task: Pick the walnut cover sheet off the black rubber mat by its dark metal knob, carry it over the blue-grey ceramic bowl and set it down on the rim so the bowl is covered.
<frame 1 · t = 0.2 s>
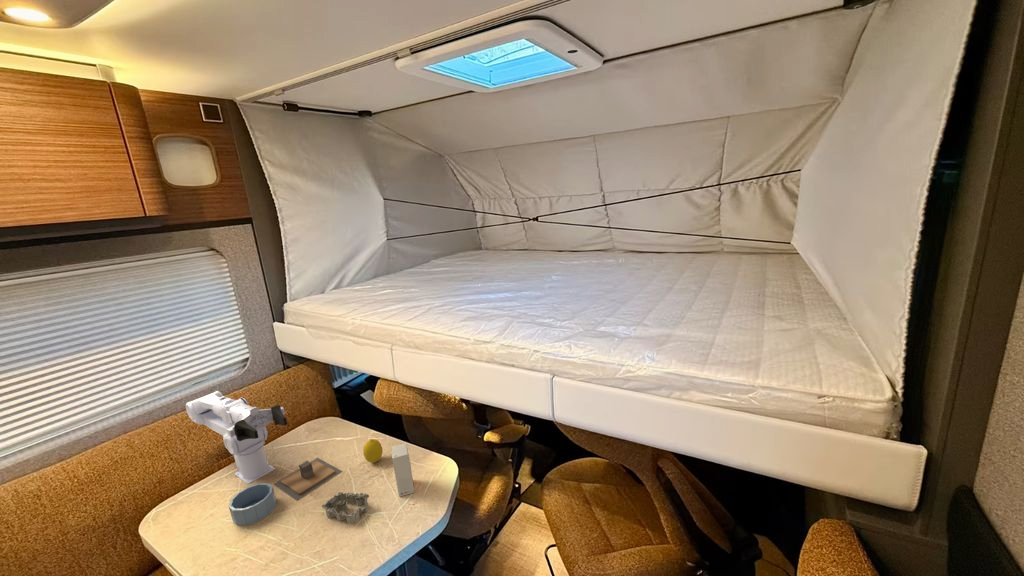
hand: (271, 428, 114), 21 cm above the table, tool horizontal, fingers open, 7 cm apart
bowl: (255, 511, 113), on the table
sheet: (308, 477, 125), resting on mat
skincare box: (406, 488, 117), on the table
lemon: (375, 463, 130), on the table
grey lumpy curved piece: (347, 513, 110), on the table
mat: (308, 478, 125), on the table
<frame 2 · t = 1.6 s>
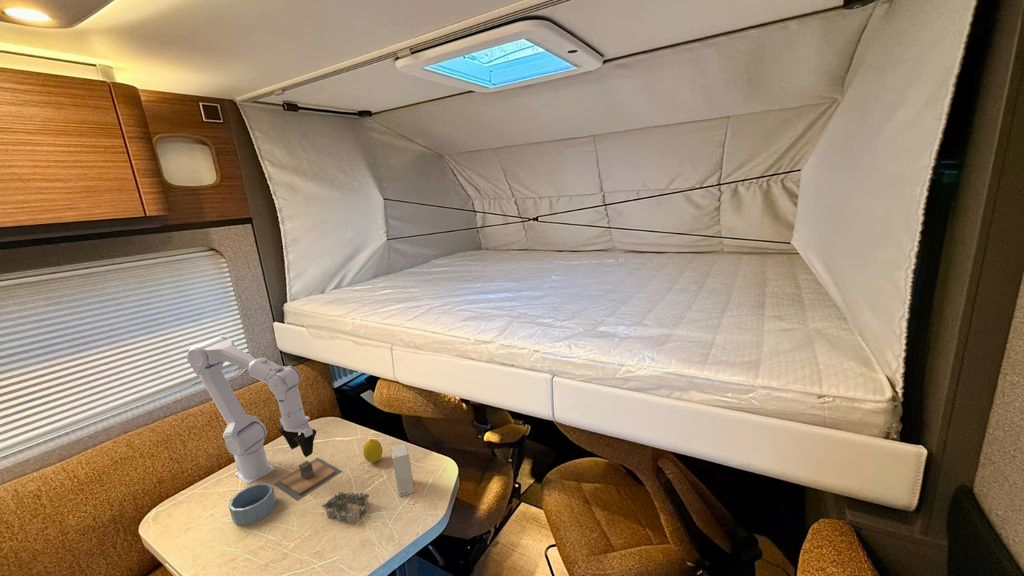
hand: (301, 451, 123), 9 cm above the table, tool pointing down, fingers open, 7 cm apart
nothing on the table moved.
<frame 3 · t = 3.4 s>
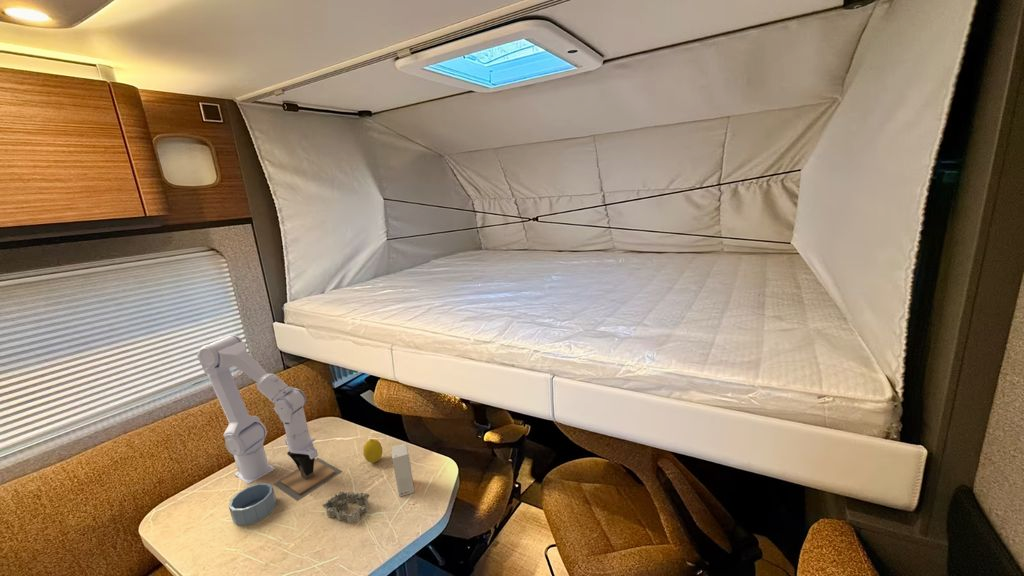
hand: (306, 471, 125), 2 cm above the table, tool pointing down, fingers closed on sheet, 2 cm apart
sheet: (308, 477, 125), resting on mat, touching gripper
everything else where it was.
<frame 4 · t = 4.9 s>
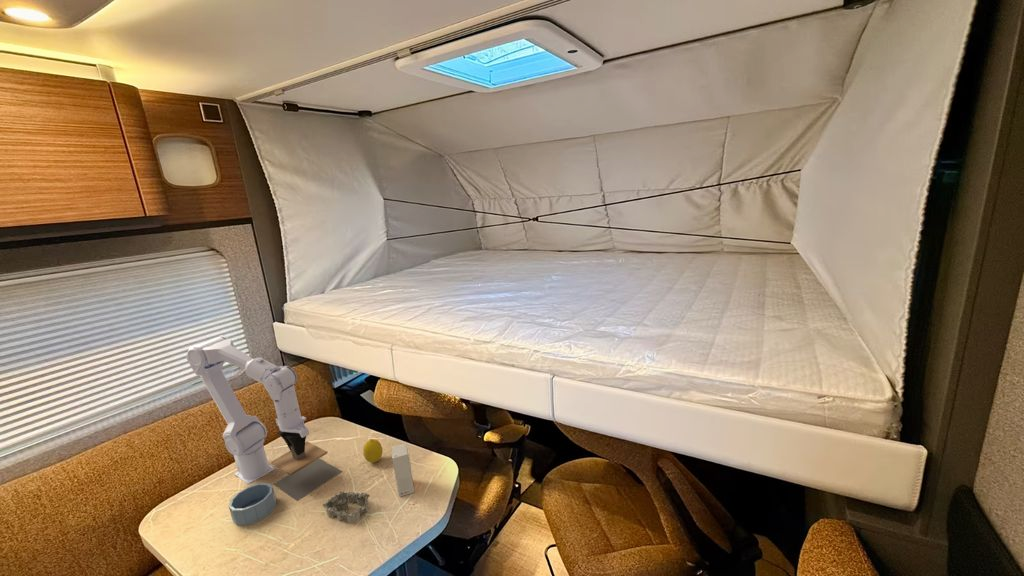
hand: (297, 451, 122), 10 cm above the table, tool pointing down, fingers closed on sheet, 2 cm apart
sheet: (299, 458, 123), point 8 cm above the table, touching gripper
everything else where it was.
when the fingers open (8 cm above the table, at t = 6.7 s): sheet stays where it is, resting on bowl.
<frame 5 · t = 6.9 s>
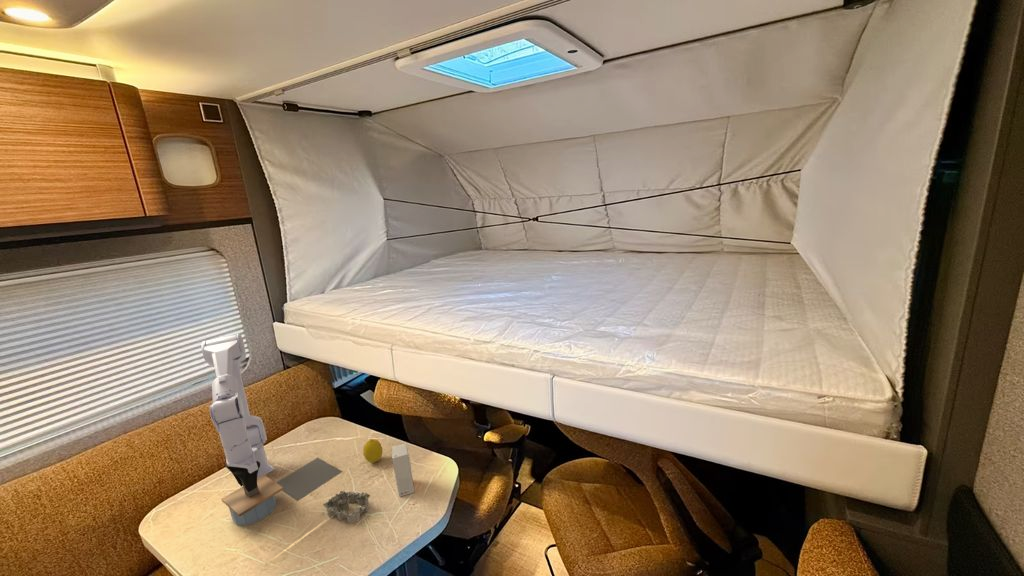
hand: (248, 486, 112), 8 cm above the table, tool pointing down, fingers open, 4 cm apart
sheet: (252, 495, 113), point 5 cm above the table, touching bowl
everything else where it was.
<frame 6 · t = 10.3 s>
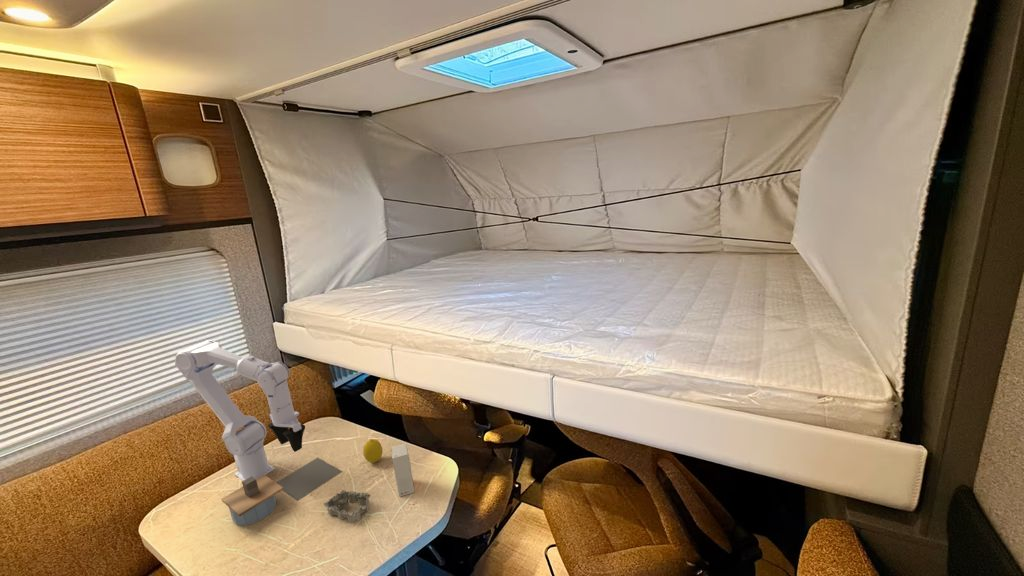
hand: (291, 446, 124), 10 cm above the table, tool pointing down, fingers open, 7 cm apart
nothing on the table moved.
at the end: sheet 0.4 cm off-centre on the bowl, point 5.0 cm above the bowl's base; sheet tilted 0°; the gripper is holding nothing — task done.
